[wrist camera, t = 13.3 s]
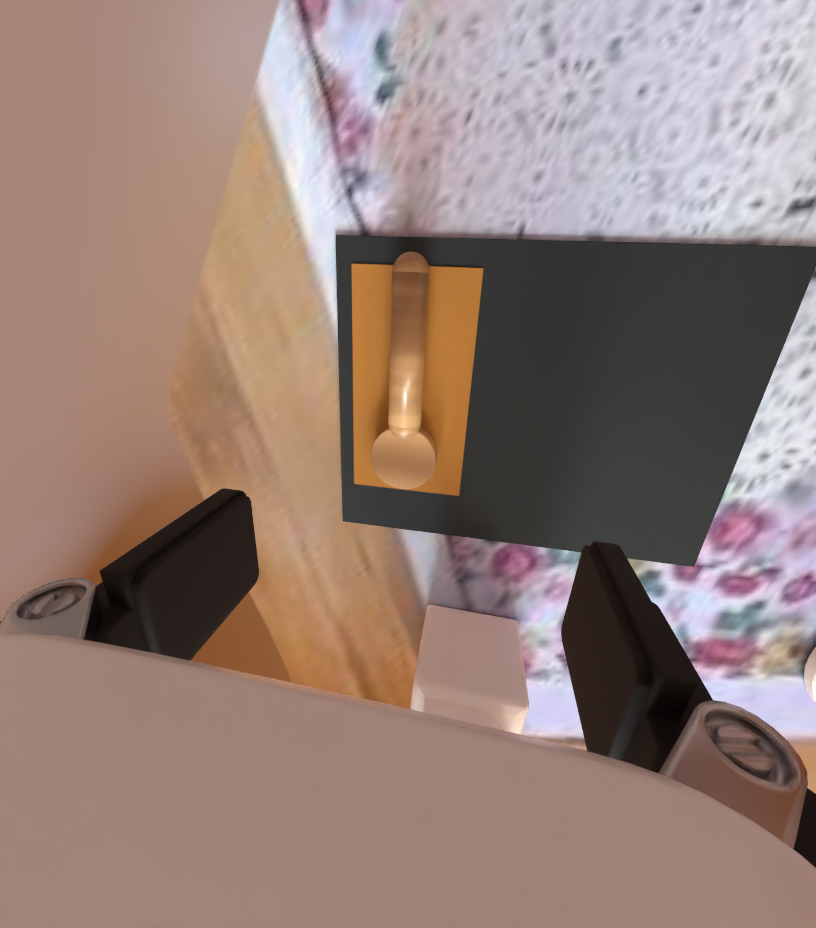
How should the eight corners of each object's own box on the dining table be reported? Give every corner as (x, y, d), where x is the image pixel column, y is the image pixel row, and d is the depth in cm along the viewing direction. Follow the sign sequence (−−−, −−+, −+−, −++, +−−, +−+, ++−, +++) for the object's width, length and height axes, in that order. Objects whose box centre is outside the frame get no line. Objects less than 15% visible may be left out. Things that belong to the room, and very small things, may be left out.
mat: (820, 247, 20) (825, 246, 20) (692, 565, 28) (694, 567, 27) (336, 235, 23) (335, 234, 23) (343, 520, 31) (342, 521, 31)
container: (419, 665, 36) (389, 843, 24) (427, 601, 33) (398, 768, 21) (502, 683, 35) (515, 877, 23) (519, 618, 32) (543, 804, 20)
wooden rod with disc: (377, 252, 23) (367, 247, 21) (453, 255, 22) (451, 250, 20) (374, 477, 29) (366, 490, 27) (435, 484, 28) (432, 498, 26)
